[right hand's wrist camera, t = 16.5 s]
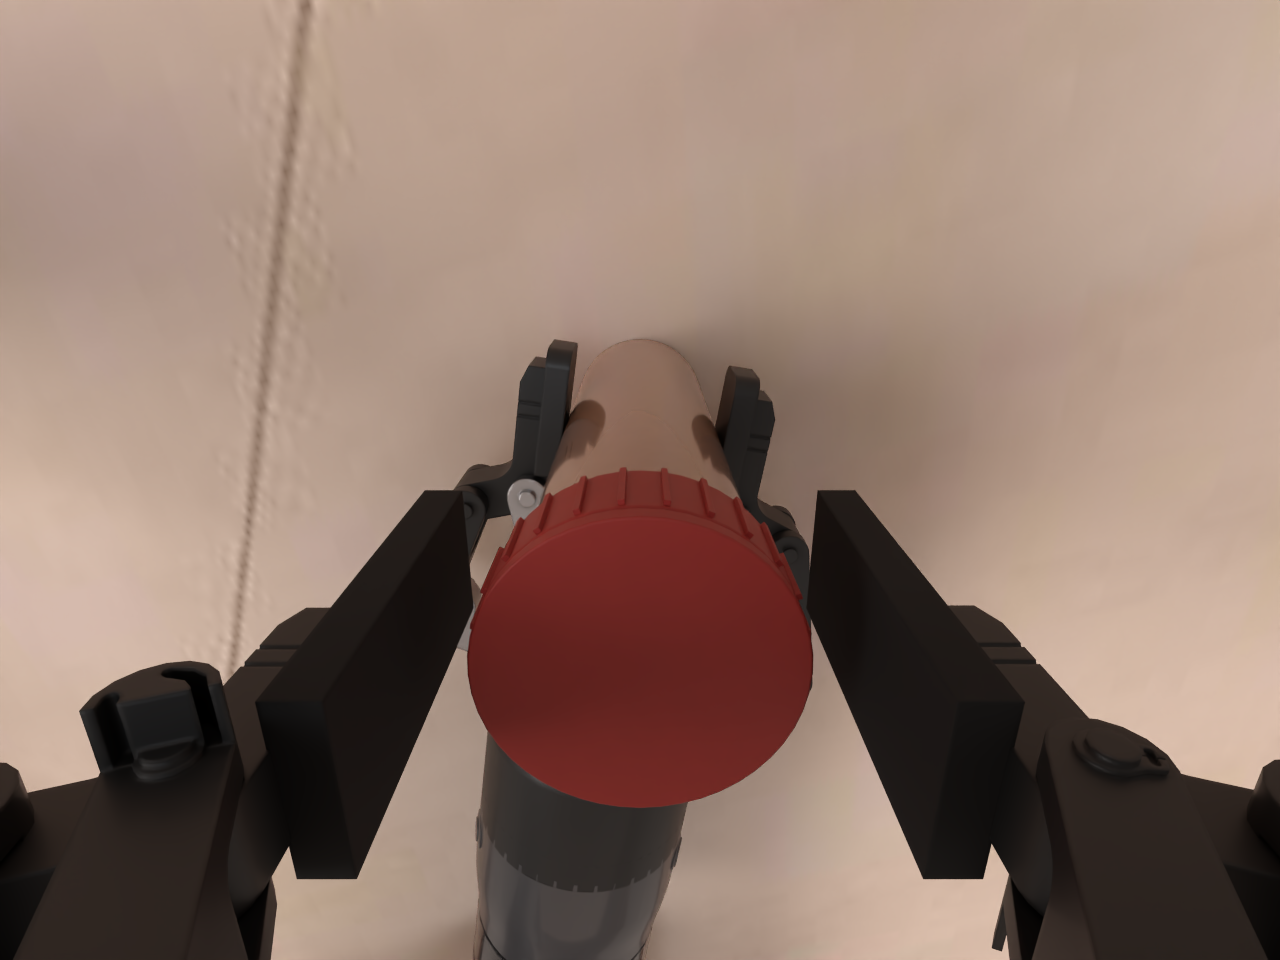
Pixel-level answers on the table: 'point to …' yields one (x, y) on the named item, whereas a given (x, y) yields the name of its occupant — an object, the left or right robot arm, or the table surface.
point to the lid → (640, 641)
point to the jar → (640, 421)
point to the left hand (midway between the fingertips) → (654, 361)
